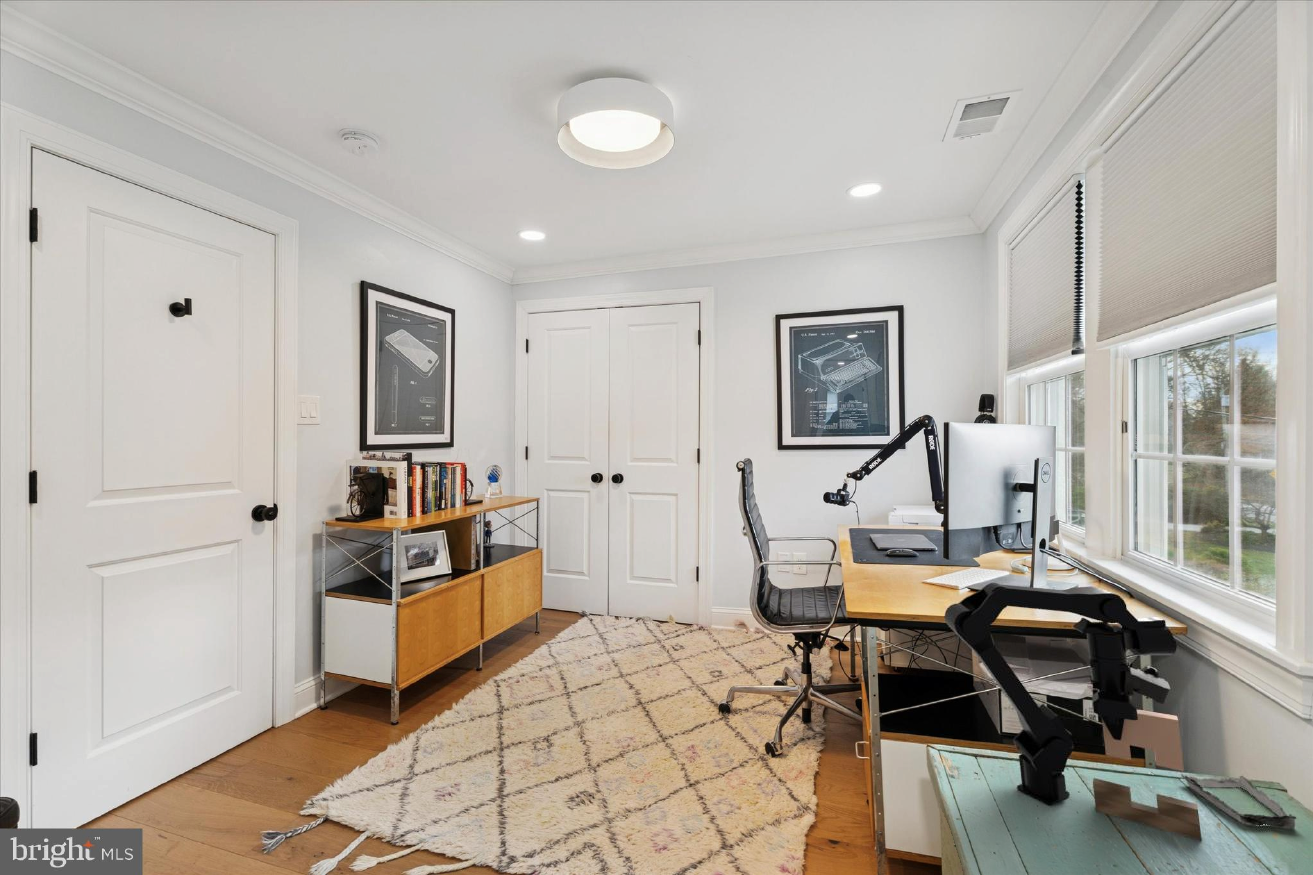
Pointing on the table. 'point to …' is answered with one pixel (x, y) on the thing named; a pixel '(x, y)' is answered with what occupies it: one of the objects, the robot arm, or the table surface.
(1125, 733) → the crosspiece
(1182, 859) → the table surface
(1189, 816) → the cross rail
